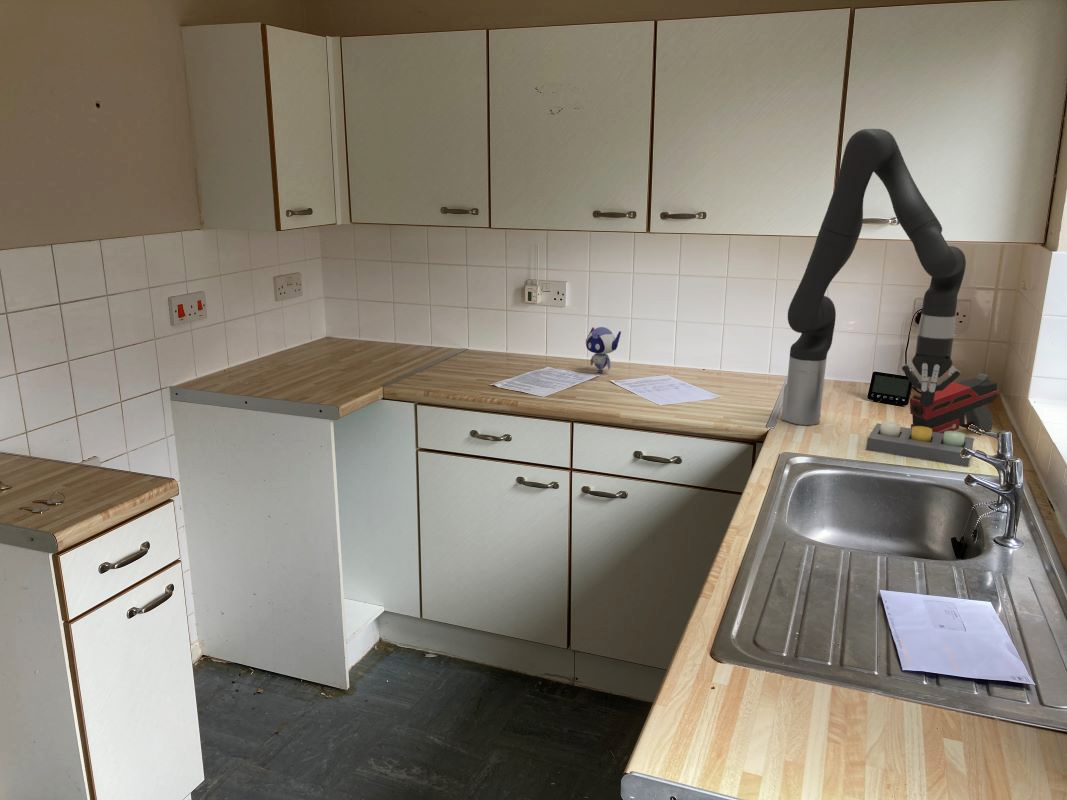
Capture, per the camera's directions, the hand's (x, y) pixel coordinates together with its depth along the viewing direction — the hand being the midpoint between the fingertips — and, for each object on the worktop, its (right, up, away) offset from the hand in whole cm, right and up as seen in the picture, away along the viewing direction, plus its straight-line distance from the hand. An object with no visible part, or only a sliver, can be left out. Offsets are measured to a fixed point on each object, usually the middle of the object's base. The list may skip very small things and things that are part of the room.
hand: (926, 406), depth 201 cm
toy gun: (+13, -7, +16) cm, 22 cm away
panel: (0, -10, +3) cm, 11 cm away
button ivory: (-6, -8, +6) cm, 12 cm away
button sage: (+6, -10, -1) cm, 11 cm away
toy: (-71, +10, +73) cm, 103 cm away
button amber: (0, -9, +3) cm, 9 cm away
